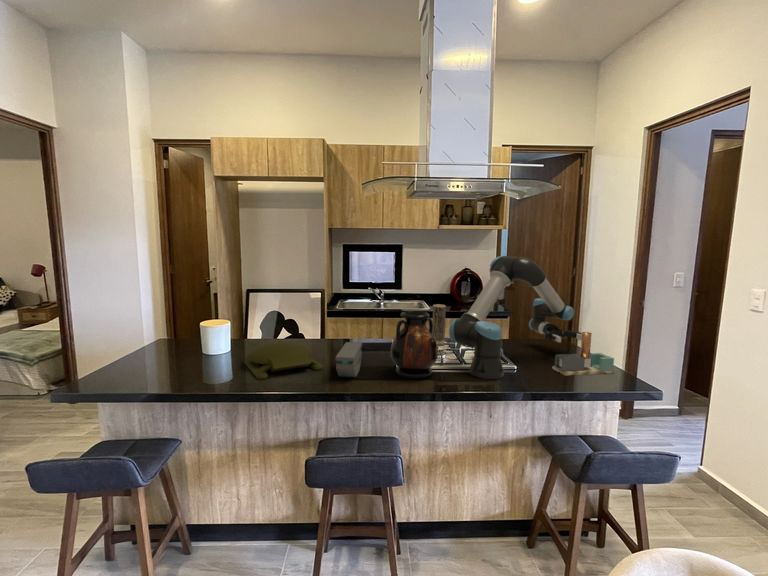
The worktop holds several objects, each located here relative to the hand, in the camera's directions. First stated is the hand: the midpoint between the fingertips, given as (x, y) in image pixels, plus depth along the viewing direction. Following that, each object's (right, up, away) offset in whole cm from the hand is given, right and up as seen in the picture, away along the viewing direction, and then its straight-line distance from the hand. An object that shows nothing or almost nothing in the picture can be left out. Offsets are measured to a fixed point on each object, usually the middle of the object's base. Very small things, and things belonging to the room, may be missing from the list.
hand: (573, 339), depth 202 cm
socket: (+10, -12, -7) cm, 17 cm away
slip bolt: (-3, -11, -9) cm, 15 cm away
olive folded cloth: (-143, -12, -4) cm, 144 cm away
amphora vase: (-80, -14, -15) cm, 82 cm away
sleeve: (-6, -13, -9) cm, 17 cm away
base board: (+1, -14, -8) cm, 16 cm away
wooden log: (-63, -9, +25) cm, 69 cm away
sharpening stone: (-109, -13, -15) cm, 111 cm away
